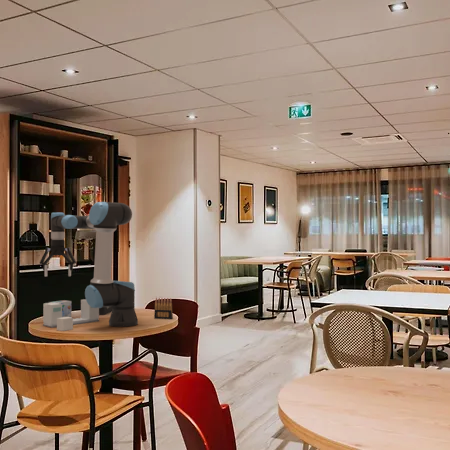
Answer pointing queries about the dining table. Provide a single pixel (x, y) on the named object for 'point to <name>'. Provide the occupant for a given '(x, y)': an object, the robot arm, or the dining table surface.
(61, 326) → the block
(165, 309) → the ammunition clip
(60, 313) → the rail assembly
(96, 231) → the robot arm
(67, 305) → the light bulb box
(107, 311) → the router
